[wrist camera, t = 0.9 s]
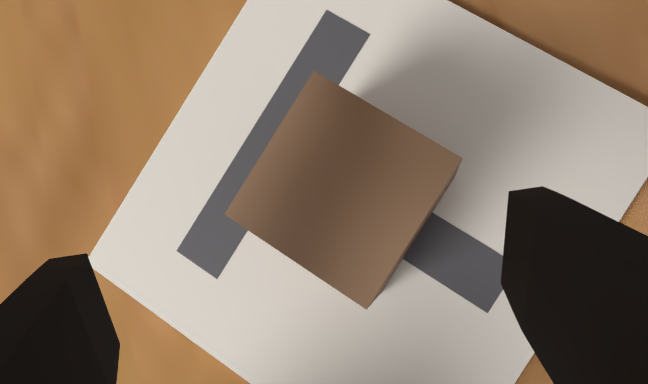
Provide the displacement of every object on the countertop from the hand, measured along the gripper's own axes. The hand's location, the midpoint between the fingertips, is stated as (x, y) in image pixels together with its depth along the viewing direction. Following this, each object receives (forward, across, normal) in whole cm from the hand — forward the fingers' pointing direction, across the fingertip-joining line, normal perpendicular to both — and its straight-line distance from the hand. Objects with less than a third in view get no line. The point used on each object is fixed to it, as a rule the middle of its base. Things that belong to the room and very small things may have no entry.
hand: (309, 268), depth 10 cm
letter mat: (+10, -3, +5) cm, 12 cm away
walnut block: (+10, -2, +5) cm, 12 cm away
